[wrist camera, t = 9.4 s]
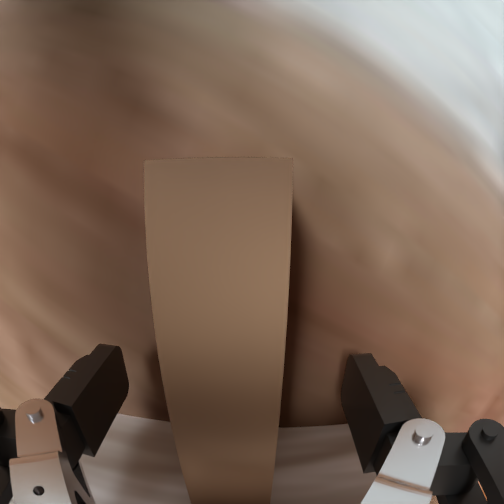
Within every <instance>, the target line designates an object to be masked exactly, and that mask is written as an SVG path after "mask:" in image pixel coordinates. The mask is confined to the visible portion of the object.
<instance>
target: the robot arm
mask: <svg viewBox="0 0 504 504" xmlns="http://www.w3.org/2000/svg"><path fill="white" fill-rule="evenodd" d="M128 389H129V382H128V377H127V373H126V368H125V364H124V359H123V354H122V350H121V348H120V347H119V346H113V345H106V344H99V345H98V346H97V347H96V348H95V349H94V350H93V351H92V353H91V354H90V355H86V356H84V357H82V358H81V359H79V360H77V361H76V362H75V363H74V364H73V365H72V367H71V368H70V369H69V371H67V372H66V373H65V375H64V377H62V378H61V379H60V380H59V382H58V383H57V384H56V385H55V386H54V388H53V389H52V390H51V391H50V392H49V394H48V395H47V396H46V397H45V398H44V399H31V400H28V401H26V402H24V403H22V404H21V405H20V406H19V407H18V408H17V410H11V409H1V407H0V504H9V503H10V501H11V499H12V497H13V499H14V504H96V503H95V500H94V498H93V495H92V493H91V490H90V487H89V484H88V482H87V479H86V476H85V473H84V470H83V467H82V464H81V462H80V460H79V459H80V457H81V455H82V454H85V455H88V456H91V457H95V455H96V453H97V452H98V450H99V448H100V446H101V444H102V442H103V440H104V438H105V436H106V434H107V432H108V430H109V428H110V427H111V425H112V423H113V421H114V419H115V417H116V415H117V413H118V412H119V410H120V408H121V406H122V404H123V402H124V400H125V399H126V397H127V394H128ZM341 402H342V407H343V410H344V413H345V416H346V419H347V422H348V425H349V428H350V431H351V435H352V438H353V441H354V444H355V447H356V451H357V454H358V457H359V460H360V464H361V467H362V470H363V473H364V474H365V473H371V472H375V473H376V476H377V477H376V478H375V480H374V482H373V484H372V485H371V487H370V489H369V490H368V492H367V494H366V495H365V497H364V499H363V500H362V502H361V504H429V503H430V501H431V498H432V495H436V497H437V500H438V503H439V504H504V427H503V426H502V425H501V424H500V423H498V422H496V421H494V420H490V419H480V420H477V421H475V422H474V423H473V424H472V425H471V427H470V428H469V430H468V432H466V433H446V432H444V430H443V429H442V427H441V426H440V425H439V424H437V423H436V422H434V421H432V420H429V419H423V418H422V417H421V416H420V414H419V412H418V411H417V409H416V407H415V406H414V404H413V402H412V401H411V399H410V397H409V396H408V394H407V392H405V389H404V387H403V386H402V385H401V382H400V381H399V379H398V377H397V376H396V374H395V373H394V372H392V371H391V370H390V369H388V368H387V367H386V366H378V364H377V362H376V361H375V359H374V357H373V355H372V354H371V353H366V354H351V355H349V357H348V360H347V365H346V370H345V375H344V380H343V385H342V390H341ZM478 481H479V482H480V484H481V486H482V488H483V490H484V492H485V495H486V497H487V501H486V499H485V497H484V494H483V492H482V490H481V488H480V486H479V484H478Z"/></svg>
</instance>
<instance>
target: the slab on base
mask: <svg viewBox="0 0 504 504" xmlns="http://www.w3.org/2000/svg"><path fill="white" fill-rule="evenodd" d="M292 192H293V158H267V157H210V158H178V159H158V160H144V210H145V232H146V249H147V263H148V275H149V286H150V296H151V305H152V314H153V322H154V330H155V337H156V344H157V351H158V358H159V364H160V370H161V376H162V382H163V387H164V393H165V398H166V403H167V408H168V413H169V418H170V422H168V421H160V420H153V419H147V418H141V417H135V416H129V415H124V414H118V413H117V415H116V417H115V419H114V421H113V423H112V425H111V427H110V428H109V430H108V432H107V434H106V436H105V438H104V440H103V442H102V444H101V446H100V448H99V450H98V452H97V453H96V455H95V457H91V456H88V455H85V454H83V455H82V456H81V458H80V462H81V464H82V467H83V470H84V473H85V476H86V479H87V482H88V484H89V487H90V490H91V493H92V495H93V498H94V500H95V503H96V504H361V502H362V500H363V499H364V497H365V495H366V494H367V492H368V490H369V489H370V487H371V485H372V484H373V482H374V480H375V478H376V477H377V476H376V473H375V472H371V473H365V474H364V473H363V470H362V467H361V464H360V460H359V457H358V454H357V451H356V447H355V444H354V441H353V438H352V435H351V431H350V428H349V425H348V424H340V425H328V426H313V427H290V428H279V417H280V406H281V395H282V383H283V370H284V357H285V343H286V328H287V312H288V294H289V275H290V253H291V226H292Z"/></svg>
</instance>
